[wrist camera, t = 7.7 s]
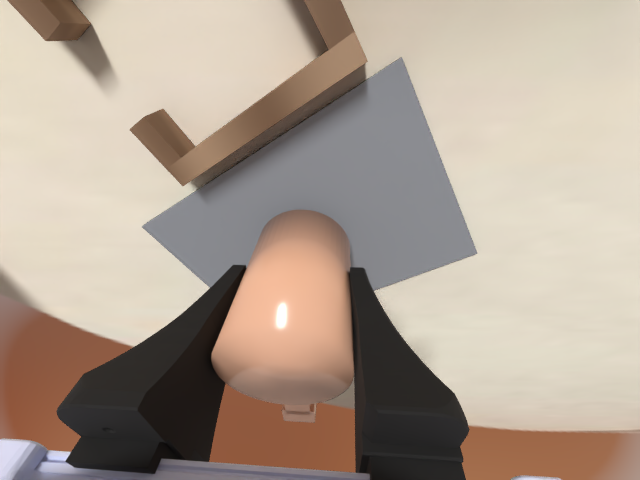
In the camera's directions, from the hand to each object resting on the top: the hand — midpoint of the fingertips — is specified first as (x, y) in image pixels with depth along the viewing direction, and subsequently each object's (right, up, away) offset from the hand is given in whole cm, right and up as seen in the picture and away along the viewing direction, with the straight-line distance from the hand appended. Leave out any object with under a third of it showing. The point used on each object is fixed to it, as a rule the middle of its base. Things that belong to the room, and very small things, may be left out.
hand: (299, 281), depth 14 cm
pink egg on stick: (0, 0, +3) cm, 3 cm away
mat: (0, +2, +3) cm, 4 cm away
